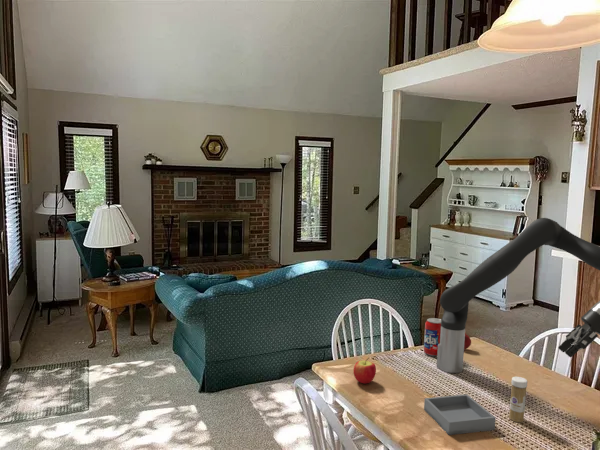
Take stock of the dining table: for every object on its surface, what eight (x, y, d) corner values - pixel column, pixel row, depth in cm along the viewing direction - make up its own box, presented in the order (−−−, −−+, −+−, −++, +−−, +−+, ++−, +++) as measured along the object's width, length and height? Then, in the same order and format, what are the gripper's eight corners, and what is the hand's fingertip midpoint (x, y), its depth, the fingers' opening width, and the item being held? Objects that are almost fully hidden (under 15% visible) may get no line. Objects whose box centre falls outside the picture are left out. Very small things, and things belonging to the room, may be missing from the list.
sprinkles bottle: (506, 419, 155) (509, 379, 154) (511, 414, 159) (514, 374, 157) (521, 424, 153) (525, 383, 151) (526, 418, 156) (529, 378, 154)
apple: (365, 389, 175) (366, 362, 173) (348, 381, 181) (349, 355, 180) (380, 382, 180) (381, 357, 179) (362, 375, 186) (363, 350, 185)
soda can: (446, 355, 208) (448, 321, 207) (433, 358, 204) (435, 324, 202) (432, 349, 215) (434, 316, 213) (419, 352, 211) (421, 319, 209)
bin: (448, 435, 145) (449, 422, 145) (423, 409, 160) (424, 398, 160) (494, 429, 149) (495, 417, 148) (466, 405, 164) (467, 394, 164)
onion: (471, 352, 212) (472, 335, 211) (457, 351, 213) (458, 333, 212) (469, 348, 217) (470, 330, 217) (456, 346, 219) (457, 329, 218)
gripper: (585, 306, 161) (549, 340, 163) (599, 310, 147) (559, 347, 149) (604, 322, 159) (567, 357, 161) (620, 328, 145) (580, 366, 147)
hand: (564, 352), depth 155 cm, fingers open, 8 cm apart
